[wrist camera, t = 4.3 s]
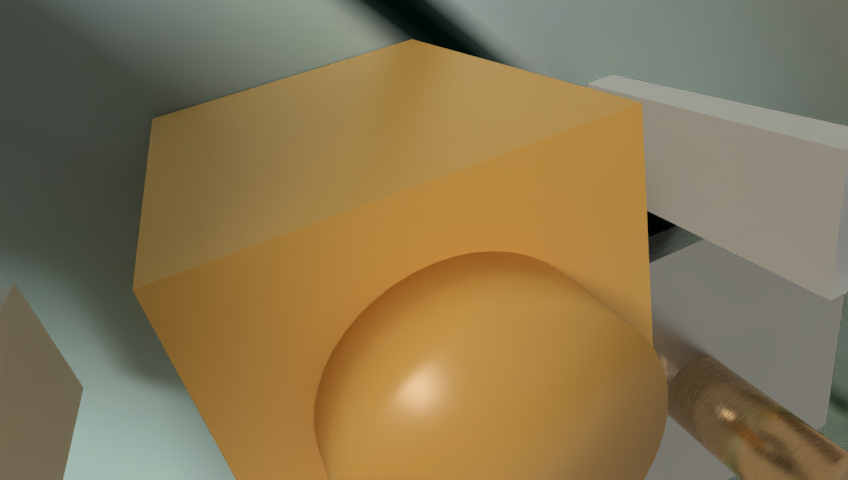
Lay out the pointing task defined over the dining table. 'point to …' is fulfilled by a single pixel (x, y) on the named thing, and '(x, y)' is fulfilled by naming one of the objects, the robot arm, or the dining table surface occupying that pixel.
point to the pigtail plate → (740, 366)
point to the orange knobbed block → (408, 273)
